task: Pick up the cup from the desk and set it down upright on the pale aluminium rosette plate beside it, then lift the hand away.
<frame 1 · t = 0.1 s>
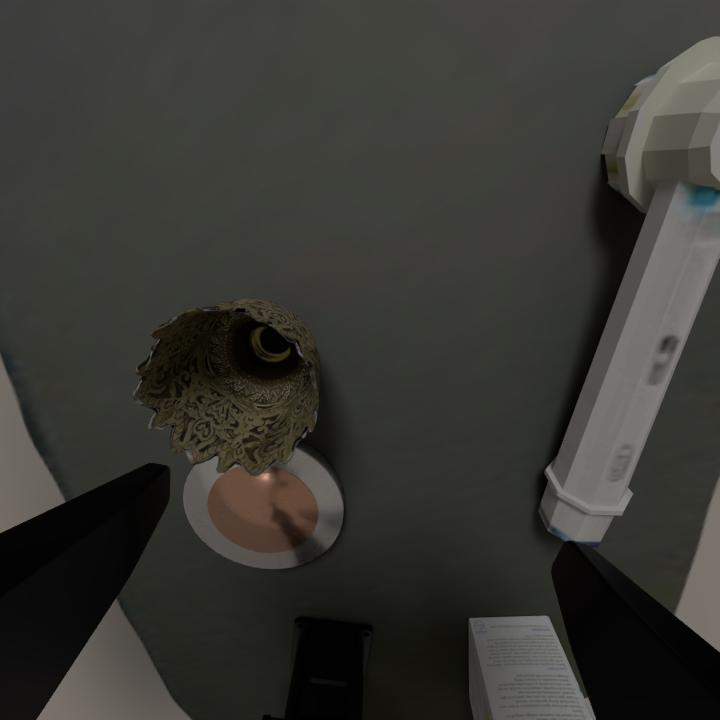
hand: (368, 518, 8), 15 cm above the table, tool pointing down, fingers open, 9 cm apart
rosette plate: (267, 497, 27), on the table
cup: (275, 338, 22), on the table
light bulb box: (504, 654, 32), on the table
light grey long piece: (598, 330, 22), on the table
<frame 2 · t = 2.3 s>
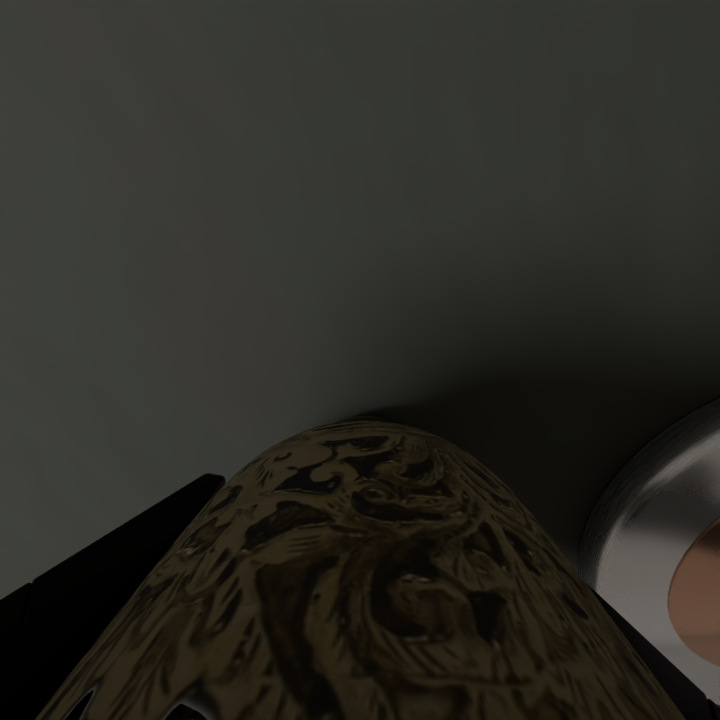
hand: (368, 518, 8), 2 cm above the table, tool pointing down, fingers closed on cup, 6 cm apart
cup: (368, 458, 10), on the table, touching gripper
when the fingers open (4 cm above the table, at t = 7.0 s): cup drops 1 cm, resting on rosette plate.
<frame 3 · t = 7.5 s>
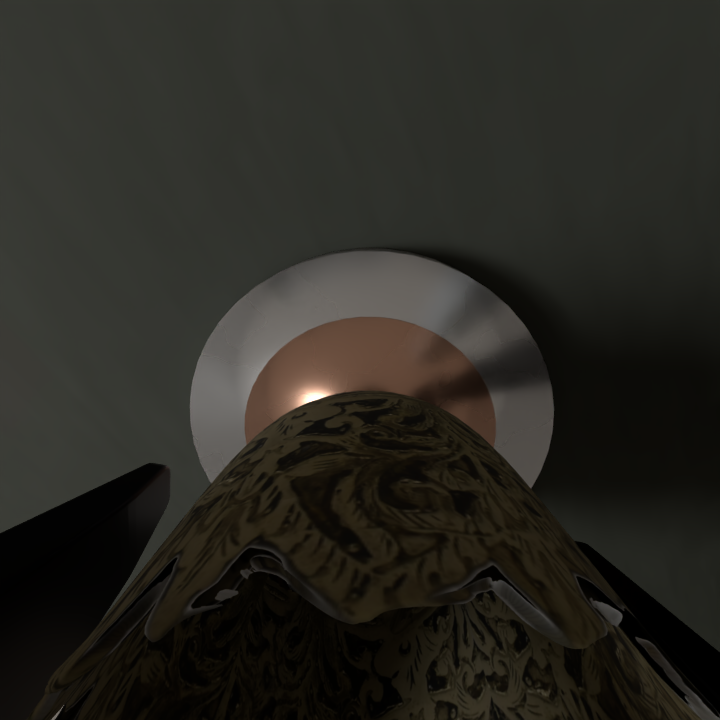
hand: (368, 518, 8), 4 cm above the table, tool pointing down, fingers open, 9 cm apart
rosette plate: (369, 417, 13), on the table
cup: (367, 434, 11), point 1 cm above the table, touching rosette plate
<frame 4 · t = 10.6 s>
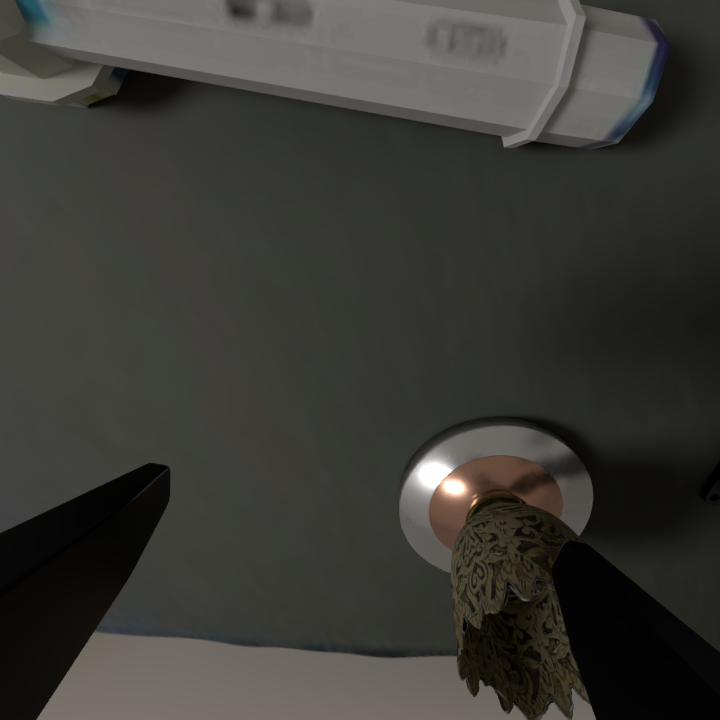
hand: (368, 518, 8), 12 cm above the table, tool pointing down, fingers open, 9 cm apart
rosette plate: (488, 495, 23), on the table
cup: (493, 508, 22), point 1 cm above the table, touching rosette plate
light grey long piece: (301, 73, 16), on the table
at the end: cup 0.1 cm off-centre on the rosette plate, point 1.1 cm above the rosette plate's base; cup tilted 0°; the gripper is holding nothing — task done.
